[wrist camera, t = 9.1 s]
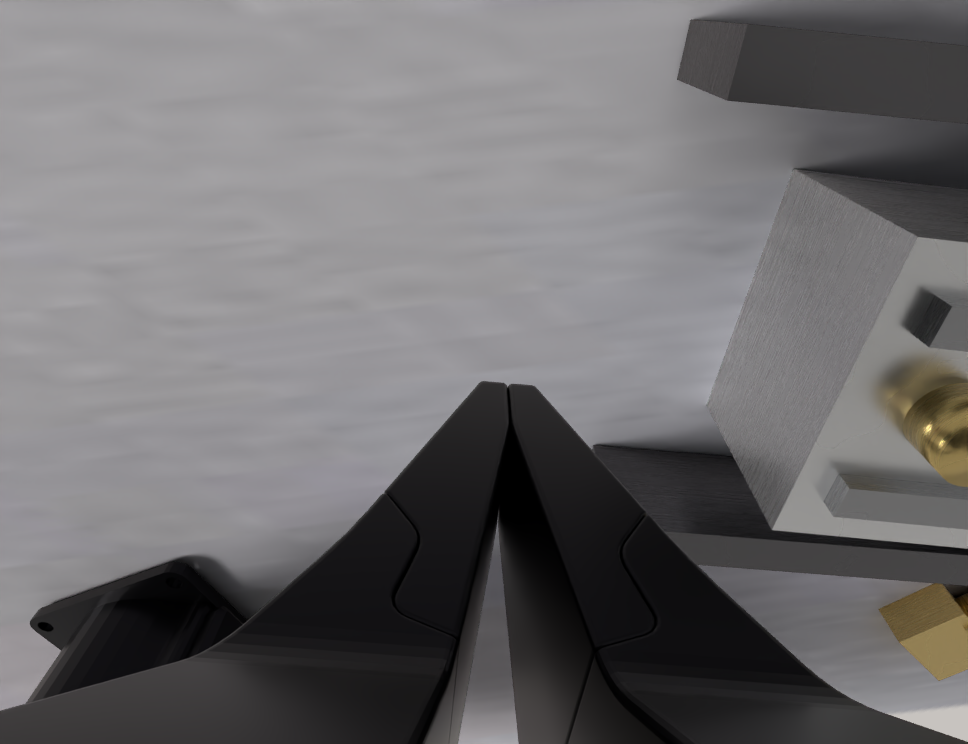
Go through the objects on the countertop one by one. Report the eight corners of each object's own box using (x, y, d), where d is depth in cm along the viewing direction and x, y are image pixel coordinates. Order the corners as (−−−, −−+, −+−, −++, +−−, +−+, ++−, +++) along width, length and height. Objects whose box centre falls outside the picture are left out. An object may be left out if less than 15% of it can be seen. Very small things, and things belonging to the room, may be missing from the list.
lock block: (704, 402, 16) (792, 570, 11) (790, 166, 13) (964, 261, 8) (962, 428, 16) (1156, 604, 11) (1107, 205, 13) (1458, 317, 8)
